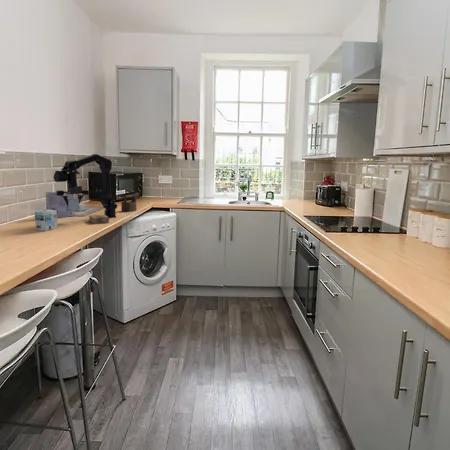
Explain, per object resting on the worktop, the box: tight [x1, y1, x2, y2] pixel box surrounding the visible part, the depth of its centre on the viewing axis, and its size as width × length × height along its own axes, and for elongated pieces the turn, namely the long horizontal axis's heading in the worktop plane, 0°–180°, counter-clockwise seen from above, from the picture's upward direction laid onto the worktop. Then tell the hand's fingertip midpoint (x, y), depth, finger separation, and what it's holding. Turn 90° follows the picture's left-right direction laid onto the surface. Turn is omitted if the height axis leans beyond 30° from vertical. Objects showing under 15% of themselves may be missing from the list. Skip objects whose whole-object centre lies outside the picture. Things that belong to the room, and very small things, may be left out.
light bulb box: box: [34, 208, 58, 232], centre depth 208 cm, size 11×7×11 cm, turn 168°
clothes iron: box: [120, 192, 140, 213], centre depth 286 cm, size 8×16×13 cm, turn 154°
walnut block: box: [88, 214, 110, 225], centre depth 234 cm, size 10×10×4 cm
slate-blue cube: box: [67, 197, 80, 210], centre depth 230 cm, size 6×6×6 cm
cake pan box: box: [45, 191, 76, 219], centre depth 248 cm, size 19×5×18 cm, turn 145°
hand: (73, 206), depth 230 cm, fingers closed on slate-blue cube, 6 cm apart
